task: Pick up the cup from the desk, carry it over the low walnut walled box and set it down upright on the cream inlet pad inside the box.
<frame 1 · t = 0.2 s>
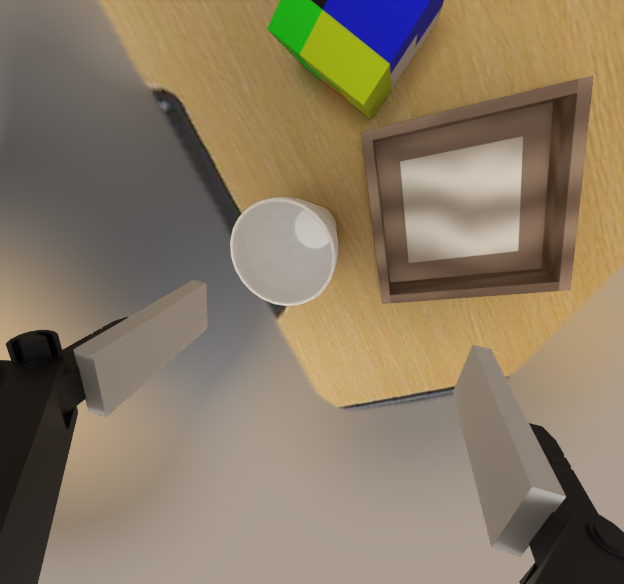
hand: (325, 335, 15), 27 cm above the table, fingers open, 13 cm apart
puzzle toy: (364, 45, 32), on the table
cup: (314, 227, 41), on the table
walled box: (458, 205, 35), on the table
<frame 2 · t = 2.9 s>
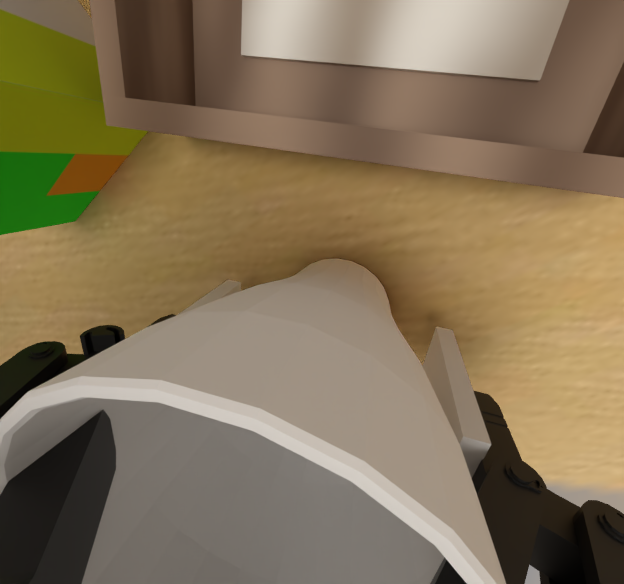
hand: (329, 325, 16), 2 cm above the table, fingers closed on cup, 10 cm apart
puzzle toy: (57, 98, 18), on the table
cup: (337, 305, 18), on the table, touching gripper
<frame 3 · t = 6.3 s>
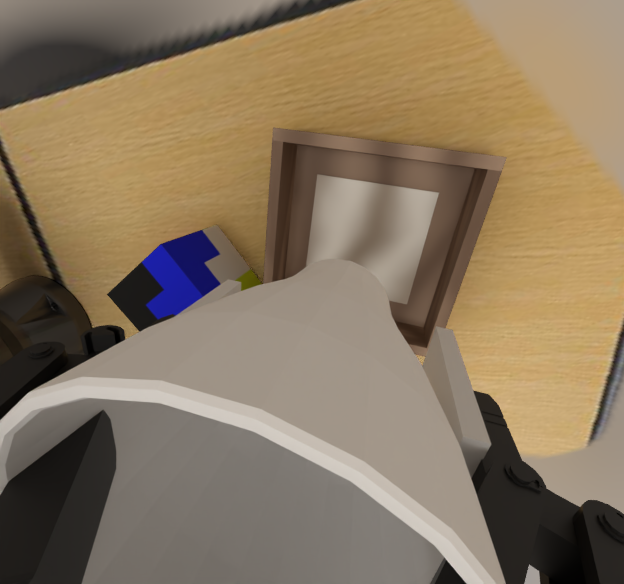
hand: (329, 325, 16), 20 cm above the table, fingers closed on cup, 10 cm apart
puzzle toy: (217, 277, 40), on the table
cup: (337, 306, 18), point 17 cm above the table, touching gripper
walled box: (364, 240, 33), on the table
when the fingers open (5 cm above the table, at t = 9.7 s): cup drops 1 cm, resting on walled box.
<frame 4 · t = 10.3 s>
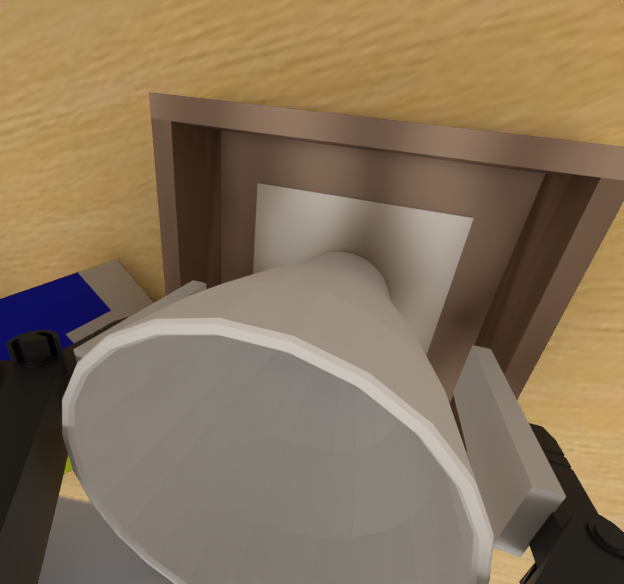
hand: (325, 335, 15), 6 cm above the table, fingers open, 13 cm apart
puzzle toy: (128, 333, 27), on the table
cup: (340, 296, 19), point 1 cm above the table, touching walled box
walled box: (343, 291, 20), on the table
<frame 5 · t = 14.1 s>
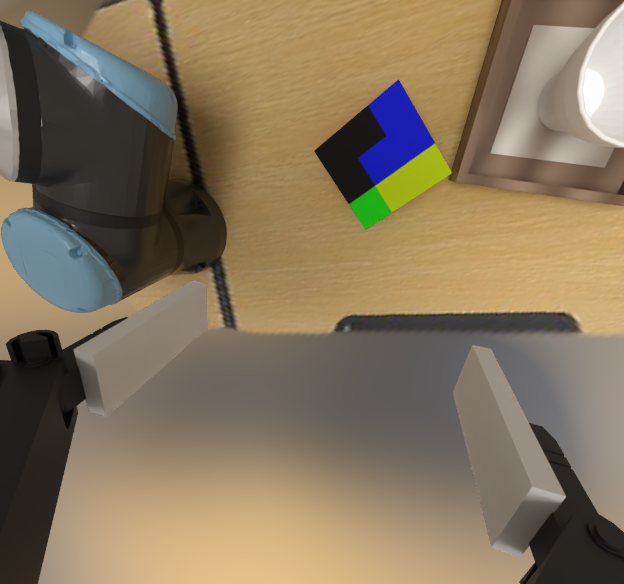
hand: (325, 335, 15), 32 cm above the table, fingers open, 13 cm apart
puzzle toy: (384, 161, 40), on the table
cup: (569, 100, 33), point 1 cm above the table, touching walled box
walled box: (566, 101, 33), on the table
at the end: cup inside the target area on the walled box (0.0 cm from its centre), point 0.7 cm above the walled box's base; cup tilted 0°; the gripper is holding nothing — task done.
